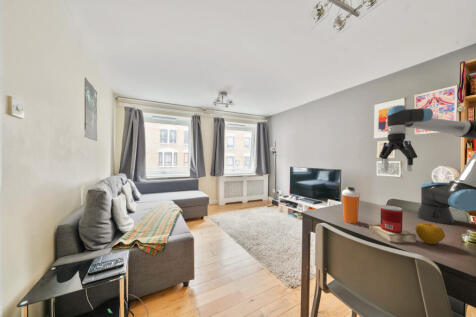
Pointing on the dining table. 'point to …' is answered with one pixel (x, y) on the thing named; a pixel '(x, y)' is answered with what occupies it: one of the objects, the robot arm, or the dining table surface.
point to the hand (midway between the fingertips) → (396, 170)
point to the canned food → (391, 218)
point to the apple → (430, 233)
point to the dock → (392, 234)
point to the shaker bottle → (350, 205)
